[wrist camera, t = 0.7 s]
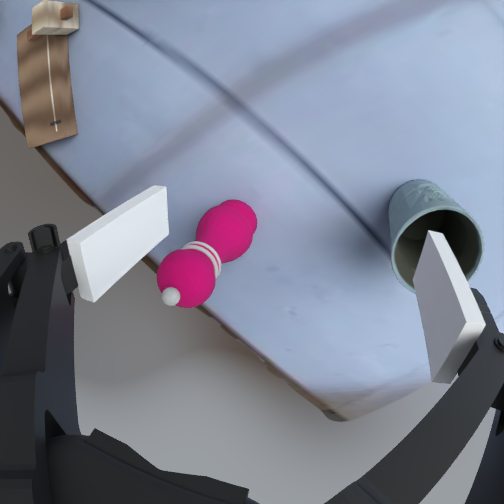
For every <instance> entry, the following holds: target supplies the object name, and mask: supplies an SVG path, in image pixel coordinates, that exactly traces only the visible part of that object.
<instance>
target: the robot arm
mask: <svg viewBox="0 0 504 504" xmlns="http://www.w3.org/2000/svg"><path fill="white" fill-rule="evenodd" d="M167 235H169V227H168V211H167V192H166V187H165V186H156V185H154V186H152V187H150V188H148V189H147V190H145V191H143V192H141V193H140V194H138V195H136V196H135V197H133V198H131V199H130V200H128V201H126V202H125V203H123V204H121V205H120V206H118V207H116V208H115V209H113V210H112V211H110V212H108V213H107V214H105V215H104V216H102V217H100V218H99V219H97V220H96V221H94V222H93V223H91V224H89V225H88V226H86V227H85V228H83V229H82V230H80V231H79V232H77V233H76V234H75V235H73V236H71V237H70V238H68V239H67V240H66V241H64V242H63V243H61V244H60V241H59V237H58V232H57V227H56V225H54V224H44V225H40V226H37V227H35V228H33V229H32V230H31V231H30V232H29V233H28V236H29V240H30V244H31V247H32V251H33V252H32V253H26V252H25V250H24V247H23V244H22V243H21V242H10V243H8V244H6V245H5V246H4V247H2V248H1V249H0V504H259V503H257V502H256V501H254V500H252V499H250V498H248V492H249V489H247V488H244V487H239V486H236V485H233V484H229V483H226V482H222V481H219V480H216V479H213V478H210V477H207V476H197V475H189V474H182V473H175V472H168V471H162V470H160V469H158V468H156V467H155V466H154V465H152V464H151V463H150V462H148V461H147V460H146V459H144V458H143V457H142V456H141V455H139V454H138V453H137V452H135V451H134V450H133V449H132V448H130V447H129V446H128V445H127V444H125V443H122V442H121V441H119V440H117V439H114V438H113V437H111V436H109V435H107V434H105V433H103V432H101V431H99V430H97V429H94V430H93V432H92V433H91V435H90V436H85V435H81V432H80V429H79V425H78V416H77V405H76V391H75V374H74V302H75V298H74V294H73V290H74V289H75V288H77V287H78V288H79V292H80V295H81V298H83V299H85V300H88V301H91V302H93V303H95V302H96V300H98V299H99V298H100V296H102V295H103V294H104V293H105V292H106V291H107V290H108V289H109V288H110V287H111V286H112V285H113V284H114V283H116V282H117V280H119V279H120V278H121V277H122V276H123V275H124V274H125V273H126V272H127V271H128V270H129V269H131V268H132V267H133V266H134V265H135V264H136V263H137V262H138V261H139V260H140V259H142V258H143V257H144V256H145V255H146V254H147V253H148V252H149V251H150V250H152V249H153V248H154V247H155V246H156V245H157V244H158V243H159V242H161V241H162V240H163V239H164V238H165V237H166V236H167ZM413 283H414V288H415V292H416V296H417V301H418V305H419V310H420V315H421V319H422V325H423V330H424V335H425V341H426V346H427V352H428V358H429V365H430V372H431V379H432V382H437V383H448V384H450V383H451V381H452V380H453V379H454V377H455V375H456V374H457V372H458V376H459V377H458V378H457V380H456V381H455V382H454V383H453V385H452V386H451V387H450V388H449V389H448V391H447V392H446V393H445V394H444V395H443V397H442V398H441V399H440V400H439V402H438V403H437V404H436V405H435V406H434V407H433V408H432V409H431V410H430V412H429V413H428V414H427V415H426V416H425V417H424V418H423V419H422V420H421V421H420V422H419V424H418V425H417V426H416V427H415V428H414V429H413V430H412V431H411V432H410V433H409V434H408V435H407V436H406V437H405V438H404V439H403V440H402V441H401V442H400V443H399V444H398V445H397V446H396V447H395V448H394V449H393V450H392V451H391V452H389V453H388V454H387V455H386V456H385V457H384V458H383V459H382V460H381V461H380V462H379V463H377V464H376V465H375V466H374V467H373V468H372V469H371V470H370V471H368V472H367V473H366V474H365V475H363V476H362V477H361V478H360V479H358V480H357V481H355V482H353V483H352V484H350V485H349V486H347V487H346V488H345V489H343V490H342V491H341V492H339V493H338V494H337V495H335V496H334V497H333V498H331V499H330V500H329V501H328V502H326V503H324V504H419V503H420V502H421V501H422V500H423V498H424V497H425V496H426V495H427V494H428V493H429V492H430V491H431V489H432V488H433V487H434V486H435V485H436V483H437V482H438V481H439V480H440V479H441V477H442V476H443V475H444V474H445V472H446V471H447V470H448V468H449V467H450V466H451V464H452V463H453V462H454V461H455V459H456V458H457V457H458V455H459V454H460V452H461V451H462V450H463V448H464V447H465V446H466V444H467V442H468V441H469V440H470V438H471V437H472V435H473V434H474V432H475V431H476V429H477V428H478V426H479V425H480V423H481V421H482V420H483V418H484V417H485V415H486V413H487V411H488V410H489V408H490V407H492V408H495V409H496V412H495V416H494V420H493V424H492V428H491V431H490V435H489V438H488V442H487V445H486V448H485V451H484V455H483V458H482V461H481V464H480V466H479V469H478V472H477V475H476V477H475V480H474V483H473V485H472V488H471V490H470V493H469V495H468V497H467V500H466V502H465V504H504V334H503V333H500V332H499V330H498V328H497V326H496V323H495V321H494V319H493V316H492V314H490V310H489V308H488V307H487V303H486V301H485V299H484V297H483V296H482V295H481V294H480V293H479V291H478V290H477V289H474V288H470V287H469V285H468V282H467V280H466V278H465V276H464V274H463V272H462V270H461V268H460V266H459V264H458V262H457V260H456V258H455V256H454V254H453V252H452V250H451V248H450V246H449V244H448V243H447V241H446V239H445V237H444V235H443V233H439V232H434V231H430V230H428V233H427V237H426V240H425V243H424V247H423V250H422V253H421V256H420V259H419V262H418V265H417V268H416V271H415V274H414V277H413ZM8 285H9V287H10V290H11V294H10V295H9V293H8Z"/></svg>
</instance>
